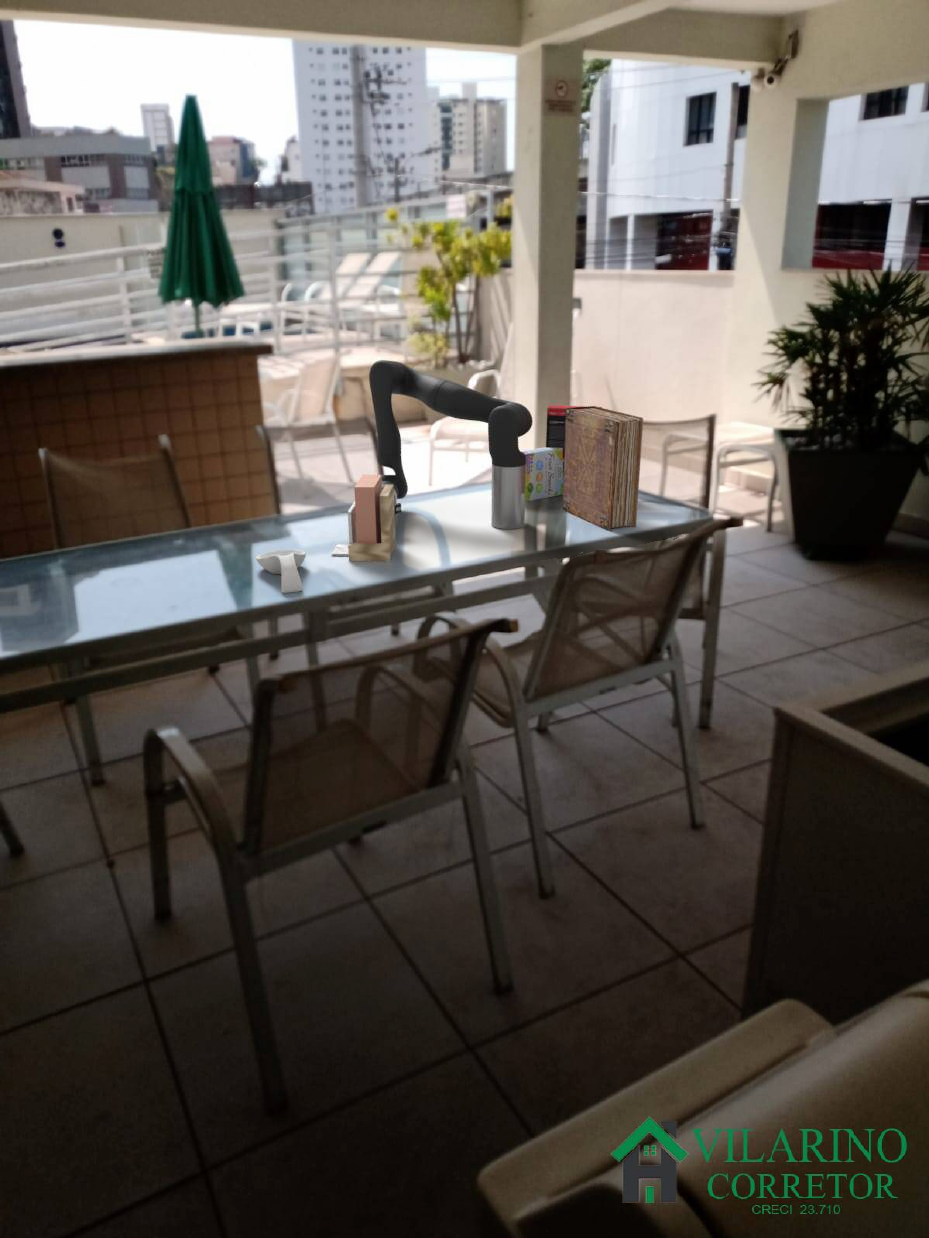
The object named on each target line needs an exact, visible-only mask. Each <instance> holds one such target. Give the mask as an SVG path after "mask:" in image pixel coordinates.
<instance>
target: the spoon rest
mask: <svg viewBox="0 0 929 1238" xmlns="http://www.w3.org/2000/svg"><path fill="white" fill-rule="evenodd" d="M306 555H307V554H306V552H305V551H303V550H299V549H283V550H282V549H280V550H273V551H267V552H262V553H260V554H258V555H257V556H256V557H255V560H256V561H257V563H258V564H259V566H260V567H262V568H263V569H264V570H266V571H268V572H269V573H271V574H276V575H281V578H280V579H281V581H280V584H281V585H280V591H281V593H282V594H288V593H296V592H302V591H304V590H303V589H304V588H303V584H302V579H301V577H300V573H299V571H298V568H299V567H300V566H301V565H302V564H303V562H304V561H305V559H306Z"/></svg>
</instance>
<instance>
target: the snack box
mask: <svg viewBox="0 0 929 1238" xmlns="http://www.w3.org/2000/svg"><path fill="white" fill-rule="evenodd" d="M520 451H521V452H523V453H524V454H525V457H526V463H525V503H527V502H532V501H538V500H542V499H546V498H547V499H548V498H551V497H558V496H563V486H564V476H563V448H552V447H549V448H546V446H545V447H537V448H531V449H526V450H520Z"/></svg>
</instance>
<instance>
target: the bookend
mask: <svg viewBox="0 0 929 1238" xmlns="http://www.w3.org/2000/svg"><path fill="white" fill-rule="evenodd" d="M347 523H348V525H347V526H348V527H347V528H348V540H349V541H348V542H349V543H357V529H356V509H355V500H354V501H353V502H352V505H351V506H350V508H349V509H348V510H347ZM349 543H348V544H336V546H335V547H334V549H333V551H332V552H331V557H349V553H348V545H349Z"/></svg>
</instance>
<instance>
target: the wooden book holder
mask: <svg viewBox="0 0 929 1238" xmlns="http://www.w3.org/2000/svg"><path fill="white" fill-rule="evenodd" d="M395 515H396V514H394V485H385V487H384V489H383V490H382V492H381V494H380V517H381V542H382V543H348V544H347V545H348V553H349V556H348V562H390V561H391V558H392V556H393V552H394V550H395V548H396V545H397V544H396V521H395Z"/></svg>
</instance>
